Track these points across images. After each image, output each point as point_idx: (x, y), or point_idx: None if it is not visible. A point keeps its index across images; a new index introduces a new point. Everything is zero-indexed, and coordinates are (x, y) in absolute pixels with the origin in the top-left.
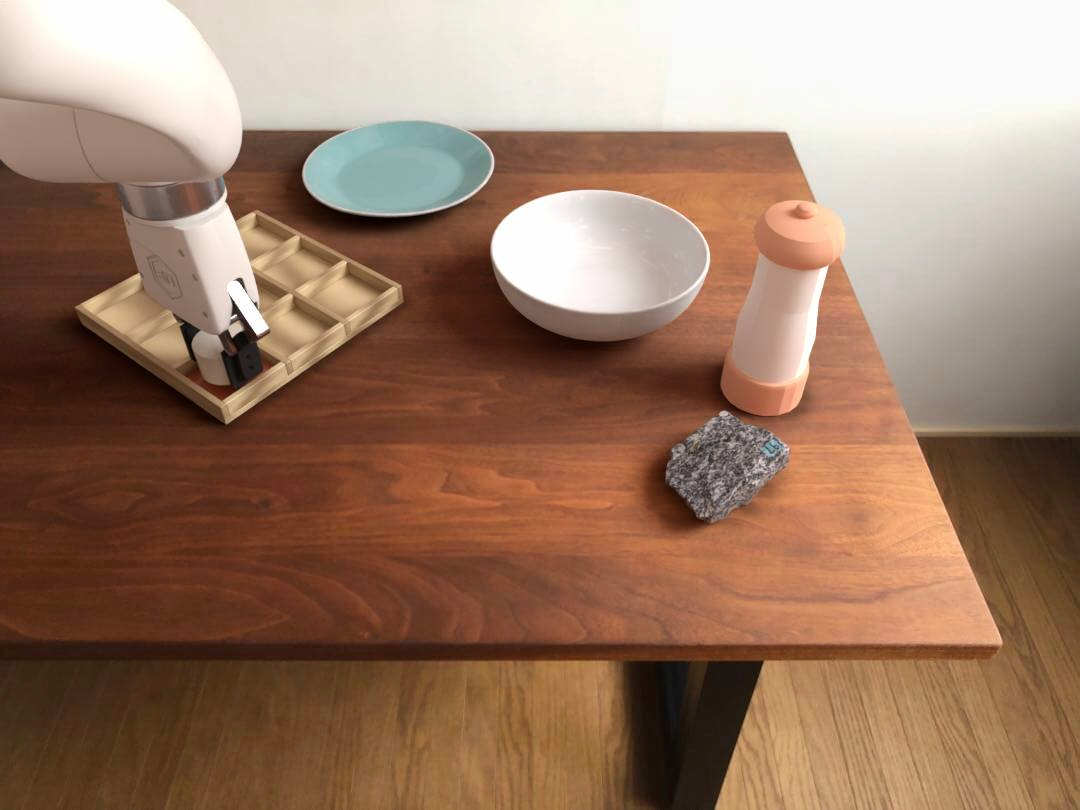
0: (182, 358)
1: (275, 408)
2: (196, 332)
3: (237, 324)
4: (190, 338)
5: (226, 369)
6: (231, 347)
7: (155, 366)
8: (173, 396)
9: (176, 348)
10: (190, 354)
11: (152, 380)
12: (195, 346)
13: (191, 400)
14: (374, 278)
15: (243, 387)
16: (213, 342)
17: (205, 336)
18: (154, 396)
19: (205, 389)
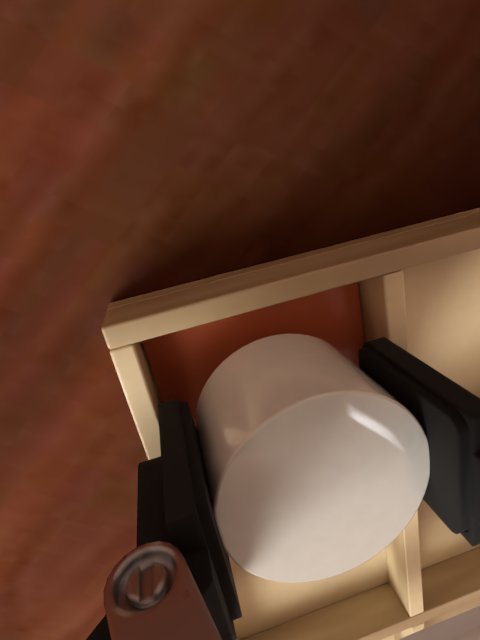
0: (429, 309)
1: (94, 437)
2: (429, 435)
3: (361, 562)
4: (421, 401)
5: (177, 447)
6: (112, 627)
7: (445, 230)
8: (324, 225)
9: (473, 310)
10: (388, 348)
11: (422, 204)
12: (360, 405)
13: (272, 261)
14: None
15: (154, 423)
16: (331, 470)
17: (386, 454)
18: (361, 178)
19: (266, 314)
